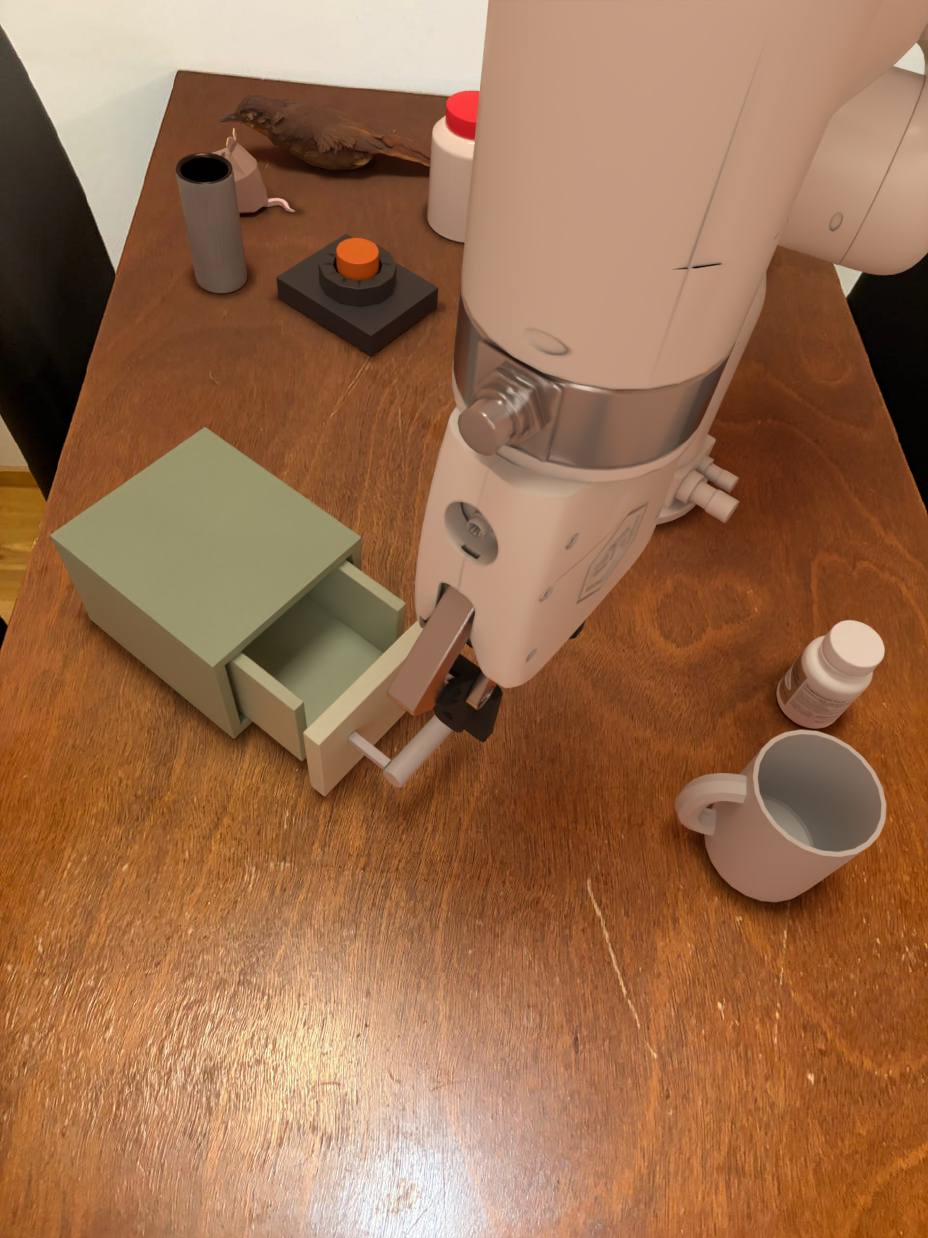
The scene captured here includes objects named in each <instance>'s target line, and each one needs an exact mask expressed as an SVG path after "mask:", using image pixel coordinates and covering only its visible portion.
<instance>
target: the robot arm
mask: <svg viewBox="0 0 928 1238" xmlns="http://www.w3.org/2000/svg"><path fill="white" fill-rule="evenodd" d="M487 2H488V3H487V10H486V11H487V13H486V20H485V21H486V23H485V30H484V31H485V34H484V42H483V51H482V61H481V62H482V63H481V73H480V74H481V75H480V83H479V91H480V92H479V102H478V112H477V122H476V132H475V143H474V153H473V163H472V173H471V183H470V193H469V203H468V214H467V224H466V234H465V243H464V245H463V256H462V264H461V276H460V285H459V297H458V307H457V315H456V326H455V335H454V348H453V359H452V367H451V369H452V370H451V389H452V394H453V398H454V403H455V405H456V406H455V407H454V409H453V411H452V412H451V413H450V415H449V418H448V420H447V425H446V428H445V432H444V435H443V438H442V442H441V446H440V449H439V452H438V455H437V460H436V463H435V468H434V472H433V475H432V479H431V484H430V489H429V493H428V497H427V501H426V505H425V511H424V516H423V521H422V527H421V532H420V539H419V545H418V551H417V558H416V567H415V577H414V610H415V615H416V621H417V620H418V623H419V626H420V627H421V628H423V630H422V632H421V633H420V635H419V637H418V638H417V640H416V642H415V644H414V645H413V647H412V649H411V650H410V652H409V654H408V655H407V657H406V659H405V661H404V662H403V664H402V666H401V667H400V669H399V671H398V672H397V674H396V676H395V678H394V679H393V681H392V683H391V684H390V686H389V688H388V690H387V694H386V695H387V696H388V697H389V698H390V699H391V700H393V701H394V702H395V703H397V704H398V705H399V706H401V707H402V708H403V709H405V710H406V712H407V713H408V714H410V715H411V716H413V717H417V716H420V715H423V714H425V713H428V712H431V711H432V712H433V714H434V715H436V717H437V718H438V719H439V720H440V721H441V722H442V723H443V724H445V725H446V726H447V727H449V728H450V729H451V730H453V731H452V732H455V733H458V734H461V733H463V731H465V732H467V733H468V734H469V735H470V736H472V737H473V738H474V739H475V740H477V741H479V742H481V743H486V741H487V740H488V739H489V738H490V737H491V736H492V734H493V732H494V729H495V725H496V722H497V718H498V715H499V710H500V708H501V707H500V706H501V703H502V699H503V695H504V692H503V689H502V688H504V689H513V688H516V687H519V686H522V685H524V684H526V683H527V682H529V681H530V680H531V679H533V678H534V677H535V676H536V675H537V674H538V673H539V672H540V671H542V669H543V668H544V667H545V666H546V665H547V663H548V662H550V660H551V659H553V657H554V656H555V655H556V654H557V652H558V651H560V649H561V648H562V647H563V646H564V645H565V643H566V642H567V641H568V640H571V639H572V640H575V639H576V638H577V637H578V636H579V635H580V634H581V632H582V631H583V629H584V627H585V624H586V621H587V619H588V618H589V616H590V615H591V614H592V613H593V612H594V611H595V610H596V608H598V606H599V605H600V604H601V603H602V602H603V600H604V599H605V598H606V597H607V596H608V595H609V593H610V592H611V591H612V590H613V589H614V587H615V586H617V584H618V583H619V582H620V581H621V580H622V578H623V577H624V576H625V575H626V574H627V573H628V571H629V570H630V569H631V568H632V566H633V565H634V564H635V563H636V561H637V560H638V558H640V556H641V555H642V554H643V552H644V550H645V549H646V548H647V545H648V544H649V542H650V540H651V539H652V537H653V534H654V532H655V530H656V526H657V525H662V524H666V523H668V522H672V521H674V520H677V519H679V518H681V517H683V516H685V515H686V514H687V513H689V512H690V511H691V510H692V509H694V508H695V506H696V505H697V506H698V507H700V508H702V509H703V510H704V512H705V513H707V514H709V516H712V517H713V518H715V519H717V520H718V521H719V522H722V523H723V524H725V523H727V522H728V521H729V519H730V518H731V516H732V515H733V514H734V513H735V511H736V509H737V508H738V506H739V504H740V501H739V500H738V499H737V498H735V497H733V496H731V495H730V493H731V492H732V491H733V489H734V488H735V486H736V485H737V484H738V482H739V480H740V477H738V476H737V475H735V474H733V473H732V472H730V471H729V470H726V469H723V468H721V467H720V466H718V465H717V464H715V463H714V462H715V459H714V458H712V457H710V454H711V452H712V450H713V448H714V446H715V443H716V441H717V439H716V438H715V437H714V436H712V435H710V434H709V432H710V429H711V428H712V425H713V422H714V421H715V418H716V416H717V414H718V411H719V410H720V407H721V405H722V402H723V400H724V397H725V395H726V393H727V391H728V389H729V386H730V384H731V381H732V379H733V377H734V375H735V373H736V370H737V368H738V366H739V364H740V361H741V359H742V357H743V354H744V352H745V350H746V348H747V345H748V343H749V341H750V339H751V336H752V334H753V332H754V330H755V328H756V324H757V323H758V321H759V318H760V315H761V313H762V310H763V307H764V303H765V299H766V293H767V271H768V269H769V266H770V264H771V261H772V258H773V256H774V254H775V252H776V249H777V247H778V246H779V247H782V248H784V249H788V250H790V251H794V252H796V253H800V254H802V255H805V256H809V257H811V258H815V259H818V260H820V261H824V262H826V263H830V264H833V265H836V266H840V267H843V268H847V269H850V270H853V271H857V272H861V273H865V274H869V275H874V276H875V275H877V276H889V275H890V276H891V275H892V276H893V275H896V274H897V275H898V274H901V273H903V272H906V271H908V270H909V269H911V268H913V267H914V266H915V265H916V264H918V263H919V262H920V261H922V259H923V258H924V257H925V256H926V255H927V254H928V0H488V1H487ZM916 44H917V45H918V46H919V48H920V50H921V52H922V55H923V61H924V71H923V73H919V72H916V71H912V70H909V69H905V68H902V67H899V66H896V64H897V63H898V62H900V60H901V59H902V58H903V57H904V56H905V55H906V54H907V53H909V51H910V50H911V49H912V48H913V47H914V46H915V45H916ZM708 481H710V482H711V483H713V484H714V485H715V486H717V487H718V489H716V488H715V487H713V486H711V485H710V484H709V483H708ZM719 488H720V489H719ZM726 492H727V493H726ZM466 645H467V646H468V647H470V648H471V649H472V650H473V652H474V655H475V656H474V657H475V658H476V661H477V664H478V665H477V664H475V663H474V662H473V661H471V660H469V659H468V658H467V657H465V656H464V655H463V654H462V653H461V652H462V651H463V650H464V647H465V646H466Z"/></svg>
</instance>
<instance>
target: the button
mask: <svg viewBox="0 0 928 1238" xmlns="http://www.w3.org/2000/svg"><path fill="white" fill-rule="evenodd" d="M375 244H376V243H375V242H373V241H371V240H369V239H366V238H362V237H353V238H350V239H346V240H344V241H342V242H341V243H340V244H339V245H338V246H337V249H336V259H337V270H338V272H339V273H340V274H341V275H342V276H344V277H346V278H349V279H355V280H363V279H369V278H373V277H374V276H375V275H376V274H377V273H378V270H379V250H378V248H377V246H376V245H377V244H376V245H375Z"/></svg>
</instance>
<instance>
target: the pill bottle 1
mask: <svg viewBox="0 0 928 1238" xmlns="http://www.w3.org/2000/svg"><path fill="white" fill-rule="evenodd" d="M479 92H480V90H463V91H458V92H456V93H453V94H451V95H450V96H449V97H448V98H447V100H446V103H445V115H444V116H442V117H441V118H439V119H438V121H436V122H435V124H434V125H433V127H432V132H431V141H430V142H431V143H430V150H431V156H430V167H429V176H428V190H427V191H428V192H427V208H426V209H427V210H426V218H427V222H428V225H429V226H430V227H431V229H432V230H433V231H434V232H436V233H437V234H438V235H439V236H441V237H443V238H445V239H447V240H451V241H453V242H457V243H464V244H465V234H466V224H467V214H468V203H469V193H470V183H471V173H472V163H473V153H474V143H475V132H476V122H477V112H478V102H479Z"/></svg>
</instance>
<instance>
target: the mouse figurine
mask: <svg viewBox="0 0 928 1238" xmlns="http://www.w3.org/2000/svg"><path fill="white" fill-rule="evenodd" d="M226 138H227V139H226V143H225V147H224V148H222V149H219V150H216V151H213V152H212V153H214V154H218V155H220V156H223V157H225V158H226V159H227V160H229V161H230V163H231V164H232V166H233V172H234V179H235V187H236V194H237V201H238V209H239V215H244V214H245V215H247V214H254V213H255V212H257V211H258V210H260V209H262V208H271V207H273V206H281V207H282V208H283V209H284V210H285V211H286V212H289V213H296V210H294V209H292V208H290V206H289V202H288V201H286V200H285V199H283V198H280V197H273V198H272V197H271V198H268V192H267V191H268V190H267V188H266V186H265V182H264V180H263V176H262V174H261V170H260V168H259V167H260V166H259V165H258V162H257V161H258V160H257V159H256V158H255V157H254V156H253V155H252V154H250V152H249V151H248V150H247V149H245V148H244V147H243V146H242V144H240V143H239V138H238V134H237V131H236V128H235V127H233V128H232V136H229V137H226Z"/></svg>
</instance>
